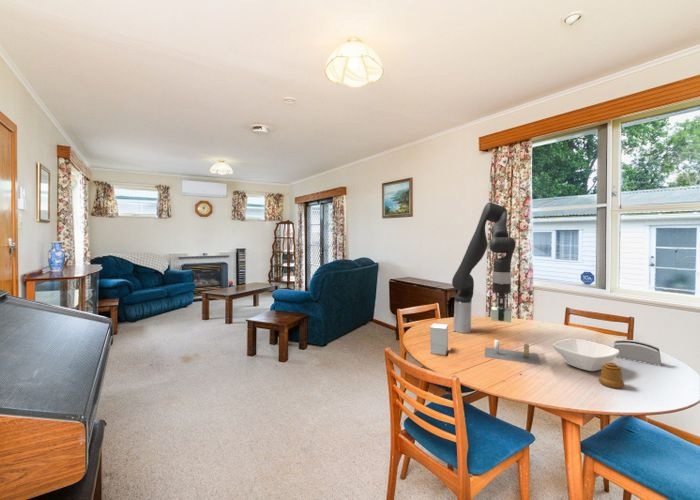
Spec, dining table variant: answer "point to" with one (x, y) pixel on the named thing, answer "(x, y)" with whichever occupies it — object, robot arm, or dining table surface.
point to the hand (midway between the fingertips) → (501, 318)
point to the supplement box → (439, 339)
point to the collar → (506, 314)
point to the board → (512, 354)
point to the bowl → (585, 353)
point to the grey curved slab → (638, 351)
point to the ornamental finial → (611, 376)
